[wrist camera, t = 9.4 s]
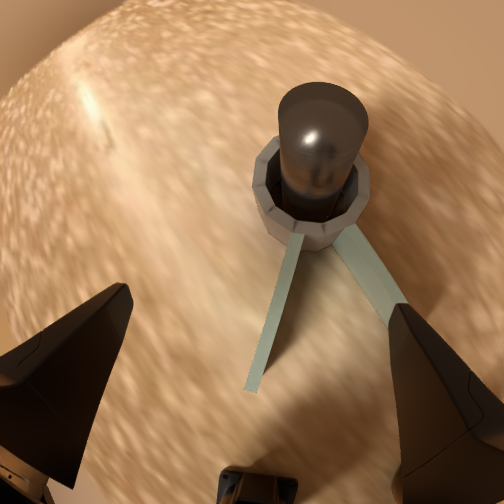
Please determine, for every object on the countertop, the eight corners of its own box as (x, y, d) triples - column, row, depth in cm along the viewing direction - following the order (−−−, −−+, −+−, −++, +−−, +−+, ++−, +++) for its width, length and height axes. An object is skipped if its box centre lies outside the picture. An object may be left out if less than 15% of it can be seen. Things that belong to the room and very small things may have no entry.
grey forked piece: (401, 383, 20) (427, 399, 15) (238, 372, 22) (226, 388, 17) (411, 175, 23) (434, 148, 18) (264, 157, 25) (260, 124, 20)
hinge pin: (330, 230, 23) (370, 159, 11) (279, 225, 24) (274, 148, 12) (333, 183, 24) (365, 87, 12) (284, 178, 24) (281, 78, 13)
